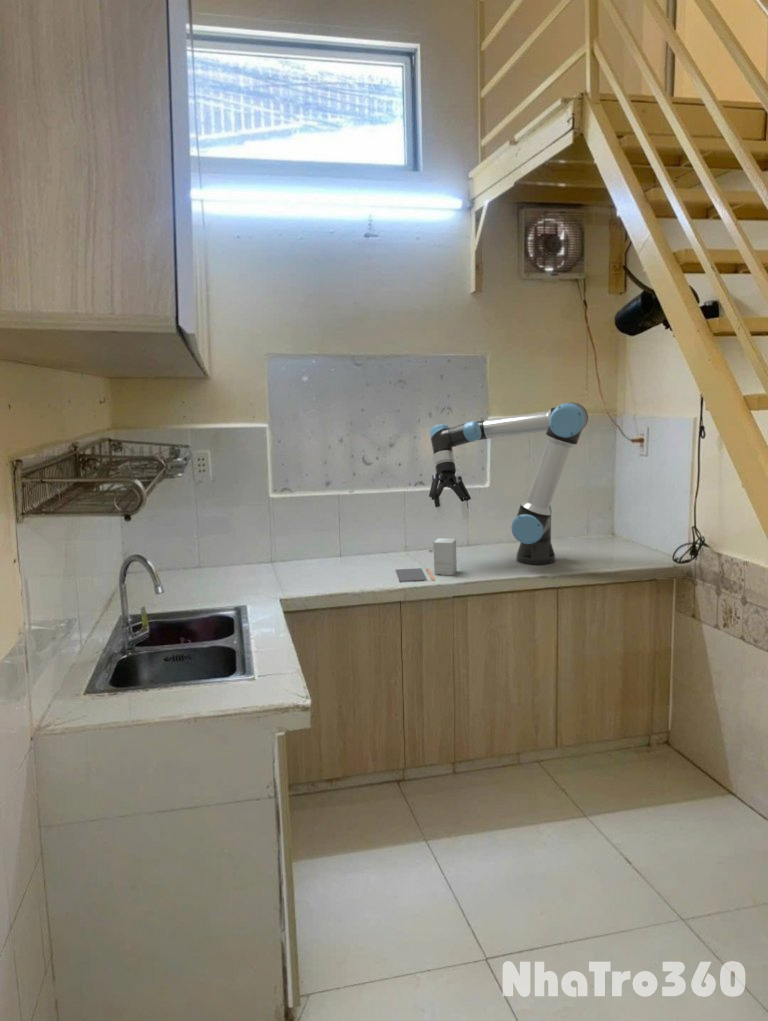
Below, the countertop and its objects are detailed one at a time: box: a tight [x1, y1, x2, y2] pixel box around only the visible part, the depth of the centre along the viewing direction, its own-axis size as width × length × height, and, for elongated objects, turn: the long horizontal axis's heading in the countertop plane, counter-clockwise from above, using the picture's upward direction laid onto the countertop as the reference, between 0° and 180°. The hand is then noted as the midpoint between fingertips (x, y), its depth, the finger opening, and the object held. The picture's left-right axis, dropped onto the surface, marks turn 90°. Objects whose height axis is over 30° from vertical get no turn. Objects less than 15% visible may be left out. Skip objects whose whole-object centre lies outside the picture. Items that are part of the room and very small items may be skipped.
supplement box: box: [433, 537, 458, 576], centre depth 260 cm, size 7×7×13 cm
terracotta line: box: [426, 567, 436, 581], centre depth 259 cm, size 1×16×1 cm, turn 4°
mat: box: [395, 567, 428, 582], centre depth 258 cm, size 10×16×1 cm, turn 4°
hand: (453, 516), depth 260 cm, fingers open, 13 cm apart
